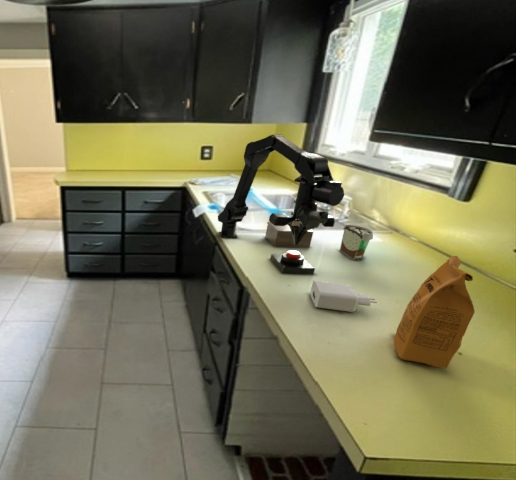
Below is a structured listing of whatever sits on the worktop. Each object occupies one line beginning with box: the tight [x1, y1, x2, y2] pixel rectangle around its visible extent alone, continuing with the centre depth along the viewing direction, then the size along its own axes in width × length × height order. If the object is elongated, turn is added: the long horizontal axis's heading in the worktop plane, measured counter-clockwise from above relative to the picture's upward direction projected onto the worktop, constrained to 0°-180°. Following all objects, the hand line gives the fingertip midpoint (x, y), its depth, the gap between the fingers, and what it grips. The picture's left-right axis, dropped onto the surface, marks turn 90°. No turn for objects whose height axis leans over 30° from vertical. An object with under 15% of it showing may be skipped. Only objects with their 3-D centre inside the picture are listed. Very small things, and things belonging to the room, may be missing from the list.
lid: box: [266, 221, 314, 234], centre depth 144 cm, size 12×13×1 cm
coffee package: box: [393, 255, 475, 369], centre depth 77 cm, size 10×12×22 cm
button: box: [286, 249, 302, 259], centre depth 122 cm, size 4×4×2 cm
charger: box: [309, 280, 378, 313], centre depth 100 cm, size 5×9×15 cm
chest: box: [264, 224, 314, 248], centre depth 145 cm, size 11×13×6 cm
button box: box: [269, 251, 316, 275], centre depth 124 cm, size 12×10×4 cm
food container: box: [339, 224, 374, 261], centre depth 132 cm, size 12×6×10 cm, turn 179°
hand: (295, 244), depth 121 cm, fingers closed
